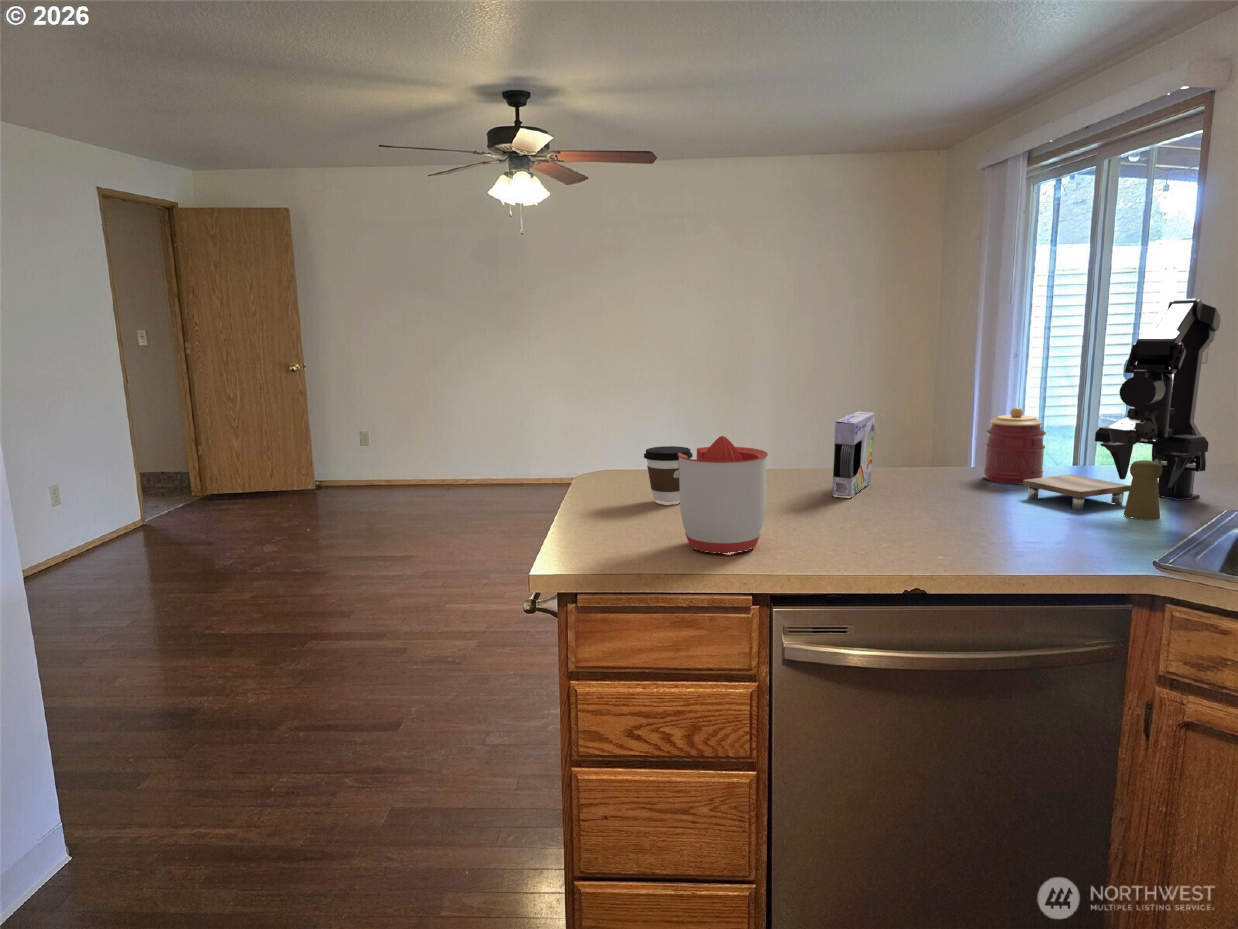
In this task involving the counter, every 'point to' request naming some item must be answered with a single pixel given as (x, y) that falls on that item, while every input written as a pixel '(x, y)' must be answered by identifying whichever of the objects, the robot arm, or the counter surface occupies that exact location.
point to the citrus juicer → (723, 496)
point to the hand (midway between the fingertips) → (1144, 483)
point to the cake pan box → (853, 453)
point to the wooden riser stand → (1076, 498)
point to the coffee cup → (665, 471)
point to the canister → (1014, 448)
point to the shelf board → (1076, 485)
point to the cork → (1144, 491)
